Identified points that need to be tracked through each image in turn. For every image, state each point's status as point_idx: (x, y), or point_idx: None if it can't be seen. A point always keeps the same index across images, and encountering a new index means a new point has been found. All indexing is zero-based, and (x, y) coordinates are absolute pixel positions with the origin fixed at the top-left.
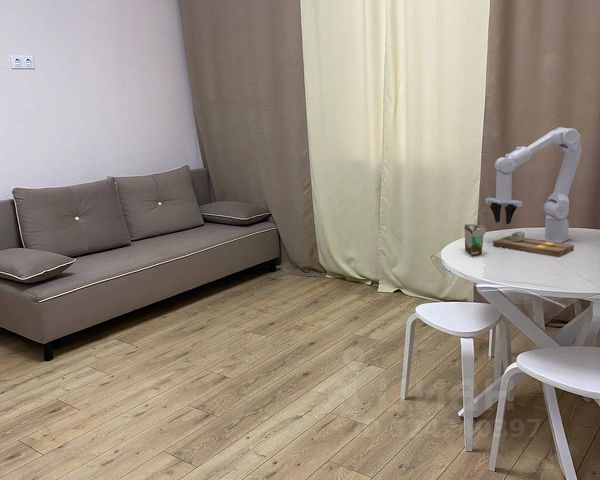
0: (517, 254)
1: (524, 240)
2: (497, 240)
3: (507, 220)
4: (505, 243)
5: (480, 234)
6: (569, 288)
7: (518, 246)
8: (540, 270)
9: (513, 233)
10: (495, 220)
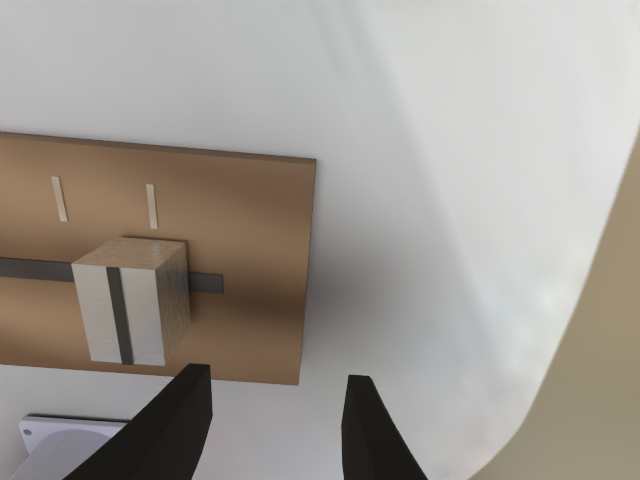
0: (13, 6)
1: None
2: (299, 213)
3: (162, 395)
4: (191, 153)
5: None
6: None
7: (68, 142)
8: None
9: (137, 274)
10: (371, 392)
